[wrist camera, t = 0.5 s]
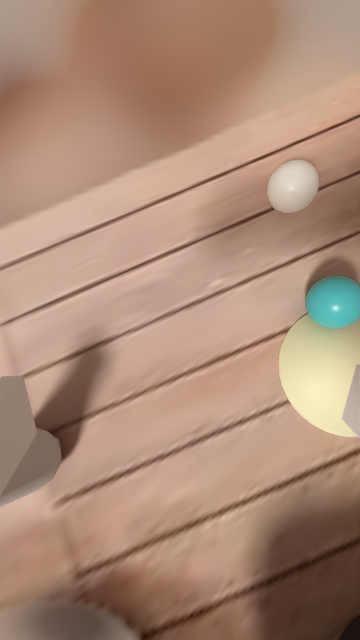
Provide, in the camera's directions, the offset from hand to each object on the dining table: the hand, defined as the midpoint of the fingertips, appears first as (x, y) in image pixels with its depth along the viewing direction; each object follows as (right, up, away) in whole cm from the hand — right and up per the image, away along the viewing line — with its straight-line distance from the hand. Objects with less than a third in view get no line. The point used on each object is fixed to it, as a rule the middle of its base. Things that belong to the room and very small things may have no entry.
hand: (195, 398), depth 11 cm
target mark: (+17, -2, +18) cm, 25 cm away
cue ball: (+12, +18, +19) cm, 29 cm away
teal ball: (+16, +5, +17) cm, 23 cm away
